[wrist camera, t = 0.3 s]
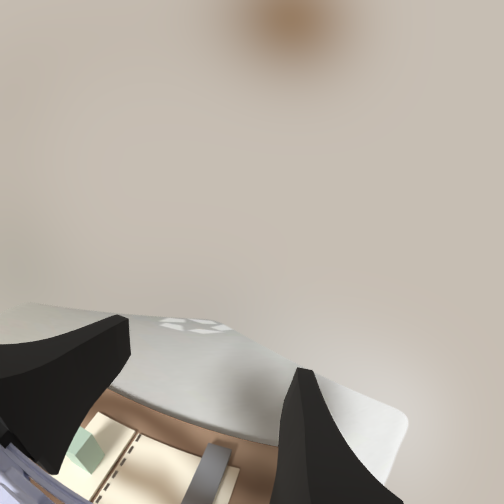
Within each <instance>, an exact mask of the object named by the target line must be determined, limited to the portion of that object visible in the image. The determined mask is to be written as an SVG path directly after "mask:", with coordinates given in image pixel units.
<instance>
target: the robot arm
mask: <svg viewBox="0 0 504 504" xmlns="http://www.w3.org/2000/svg"><path fill="white" fill-rule="evenodd" d="M130 355H131V349H130V336H129V319H128V318H125V317H122V316H120V315H114V316H111V317H108V318H105V319H103V320H100V321H98V322H95V323H92V324H90V325H87V326H85V327H82V328H79V329H77V330H74V331H71V332H68V333H65V334H62V335H59V336H55V337H52V338H48V339H43V340H39V341H34V342H26V343H18V344H0V504H55V503H54V502H53V501H52V500H50V499H49V498H48V497H47V496H46V495H45V494H44V493H43V492H41V491H40V490H39V489H38V488H37V487H35V486H34V485H33V484H32V483H31V482H30V478H31V479H32V480H34V481H35V482H36V483H37V484H39V485H40V486H41V487H42V488H44V489H45V490H46V491H48V492H49V493H50V494H52V495H53V496H55V497H56V498H57V499H59V500H60V501H62V502H63V503H65V504H94V503H92V502H90V501H88V500H87V499H85V498H83V497H82V496H80V495H79V494H77V493H75V492H74V491H72V490H71V489H69V488H68V487H66V486H65V485H63V484H62V483H60V482H59V481H57V480H56V479H55V478H53V477H52V476H51V475H58V474H59V471H60V468H61V465H62V463H63V460H64V458H65V455H66V453H67V451H68V449H69V446H70V444H71V442H72V440H73V438H74V436H75V434H76V432H77V431H78V429H79V427H80V425H81V423H82V422H83V420H84V418H85V417H86V415H87V414H88V412H89V410H90V409H91V408H92V406H93V405H94V403H95V402H96V401H97V400H98V399H99V397H100V396H101V395H102V394H103V393H104V391H105V390H106V389H107V388H108V386H109V385H110V384H111V383H112V382H113V380H114V379H115V378H116V377H117V376H118V374H119V373H120V372H121V370H122V369H123V367H124V365H125V364H126V362H127V360H128V359H129V357H130ZM29 458H30V459H31V460H32V461H31V460H30V459H29ZM35 463H36V464H37V465H38V466H37V465H36V464H35ZM39 466H40V467H41V468H42V469H41V468H40V467H39ZM43 469H44V470H45V471H46V472H45V471H44V470H43ZM47 472H48V473H49V474H50V475H49V474H48V473H47ZM269 504H404V503H403V501H402V500H401V499H399V498H398V497H397V496H395V495H394V494H393V493H392V492H391V491H389V490H388V489H387V488H386V487H384V486H383V485H382V484H381V483H380V482H379V481H378V480H377V479H376V478H375V477H374V476H373V475H372V474H371V473H370V472H369V471H368V470H367V468H366V467H365V466H364V465H363V464H362V463H361V461H360V460H359V459H358V458H357V457H356V455H355V454H354V452H353V451H352V450H351V448H350V447H349V445H348V444H347V442H346V441H345V439H344V438H343V436H342V434H341V433H340V431H339V429H338V427H337V426H336V424H335V422H334V420H333V418H332V416H331V414H330V412H329V410H328V407H327V405H326V403H325V401H324V398H323V396H322V393H321V391H320V388H319V386H318V383H317V380H316V377H315V374H314V372H313V371H312V370H308V369H303V368H298V367H297V369H296V372H295V375H294V377H293V380H292V382H291V385H290V387H289V390H288V392H287V395H286V397H285V400H284V404H283V409H282V414H281V420H280V431H279V445H278V459H277V469H276V476H275V481H274V486H273V490H272V495H271V499H270V503H269Z"/></svg>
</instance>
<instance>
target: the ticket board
mask: <svg viewBox="0 0 504 504" xmlns="http://www.w3.org/2000/svg"><path fill="white" fill-rule="evenodd" d="M98 412H99V413H101V414H103V415H105V416H107V417H108V418H110V419H112V420H114V421H116V422H118V423H120V424H122V425H124V426H126V427H128V428H130V429H132V430H134V431H135V432H136V433H135V435H134V436H133V438H132V439H131V441H130V442H129V444H128V445H127V447H126V448H125V450H124V451H123V453H122V454H121V456H120V457H119V459H118V460H117V462H116V463H115V465H114V466H113V468H112V469H111V471H110V472H109V474H108V475H107V477H106V478H105V480H104V481H103V483H102V484H101V486H100V487H99V489H98V491H97V492H96V494H95V495H94V497H93V498H92V500H91V501H90V502H92V503H94V504H269V503H270V499H271V495H272V490H273V486H274V481H275V476H276V469H277V459H278V447H276V446H271V445H266V444H261V443H257V442H252V441H248V440H244V439H240V438H236V437H232V436H229V435H225V434H221V433H218V432H215V431H211V430H208V429H205V428H202V427H199V426H196V425H193V424H190V423H187V422H184V421H181V420H179V419H176V418H173V417H171V416H168V415H165V414H163V413H160V412H158V411H155V410H153V409H151V408H148V407H146V406H144V405H141V404H139V403H137V402H135V401H132V400H130V399H128V398H126V397H124V396H122V395H120V394H118V393H116V392H114V391H112V390H110V389H108V388H107V389H106V390H105V391H104V393H103V394H102V395H101V396H100V397H99V399H98V400H97V401H96V402H95V403H94V405H93V406H92V408H91V409H90V410H89V412H88V414H87V415H86V417H85V418H84V420H83V422H82V423H81V425H80V426H81V427H82V428H84V429H85V428H86V426H87V425H88V424H89V423H90V421H91V420H92V419H93V418H94V416H95V415H96V414H97V413H98ZM29 459H30V458H29ZM30 460H31V459H30ZM31 461H32V460H31ZM35 464H36V463H35ZM36 465H37V464H36ZM37 466H38V465H37ZM39 467H40V466H39ZM40 468H41V467H40ZM41 469H42V468H41ZM43 470H44V469H43ZM44 471H45V470H44ZM45 472H46V471H45ZM47 473H48V472H47ZM48 474H49V473H48ZM30 482H31V483H32V484H33V485H34V486H35V487H37V488H38V489H39V490H40V491H41V492H43V493H44V494H45V495H46V496H47V497H48V498H49V499H50V500H52V501H53V502H54V503H55V504H65V503H63V502H62V501H60V500H59V499H57V498H56V497H55V496H53V495H52V494H50V493H49V492H48V491H46V490H45V489H44V488H42V487H41V486H40V485H39V484H37V483H36V482H35V481H34V480H32V479H31V478H30Z"/></svg>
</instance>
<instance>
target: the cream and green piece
mask: <svg viewBox="0 0 504 504" xmlns="http://www.w3.org/2000/svg"><path fill="white" fill-rule="evenodd" d="M135 433H136V432H135V431H134V430H132V429H130V428H128V427H126V426H124V425H122V424H120V423H118V422H116V421H114V420H112V419H110V418H108V417H107V416H105V415H103V414H101V413H99V412H98V413H97V414H96V415H95V416H94V418H93V419H92V420H91V421H90V423H89V424H88V425H87V426H86V428H85V429H84V428H82V427H81V426H80V427H79V429H78V431H77V432H76V434H75V436H74V438H73V440H72V442H71V444H70V446H69V449H68V451H67V453H66V455H65V458H64V460H63V463H62V465H61V468H60V471H59V474H58V475H51V476H52V477H53V478H55V479H56V480H57V481H59V482H60V483H62V484H63V485H65V486H66V487H68V488H69V489H71V490H72V491H74V492H75V493H77V494H79V495H80V496H82V497H83V498H85V499H87V500H88V501H91V500H92V498H93V497H94V495H95V494H96V492H97V491H98V489H99V487H100V486H101V484H102V483H103V481H104V480H105V478H106V477H107V475H108V474H109V472H110V471H111V469H112V468H113V466H114V465H115V463H116V462H117V460H118V459H119V457H120V456H121V454H122V453H123V451H124V450H125V448H126V447H127V445H128V444H129V442H130V441H131V439H132V438H133V436H134V435H135ZM49 475H50V474H49Z"/></svg>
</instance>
